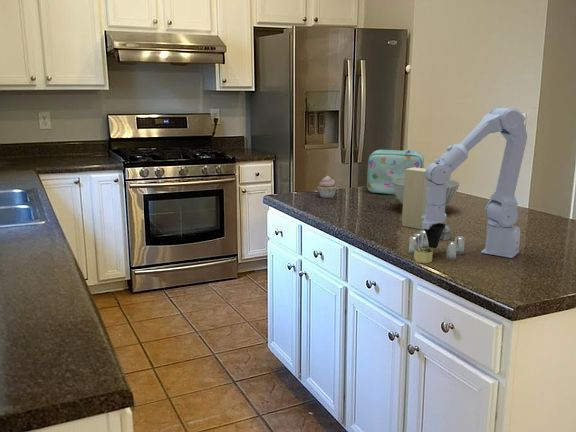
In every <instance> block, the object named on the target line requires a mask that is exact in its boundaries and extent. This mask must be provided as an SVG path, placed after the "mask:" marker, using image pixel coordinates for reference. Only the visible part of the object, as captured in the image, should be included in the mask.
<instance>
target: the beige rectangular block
mask: <svg viewBox="0 0 576 432" xmlns="http://www.w3.org/2000/svg"><path fill="white" fill-rule="evenodd" d="M424 168H425V167H424ZM424 168H416V167H413V168H408V169H405V179H404V196H403V204H402V212H401V213H402V215H401V226H403V227H407V228H413V229H417V230H423V229H422V222H423V221H424V219H421V217H422V216H425V209H426V188H427V179H426V178H425V176H424V172H425V171H426V168H425V169H424Z"/></svg>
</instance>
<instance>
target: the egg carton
mask: <svg viewBox="0 0 576 432" xmlns="http://www.w3.org/2000/svg"><path fill="white" fill-rule="evenodd" d="M450 232H451V228H449V225H447V224H446V226H445V228H444V230H443V232H442V234H441V236H440V240H443V241H449V240H451V239H450V237H451V233H450Z"/></svg>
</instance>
